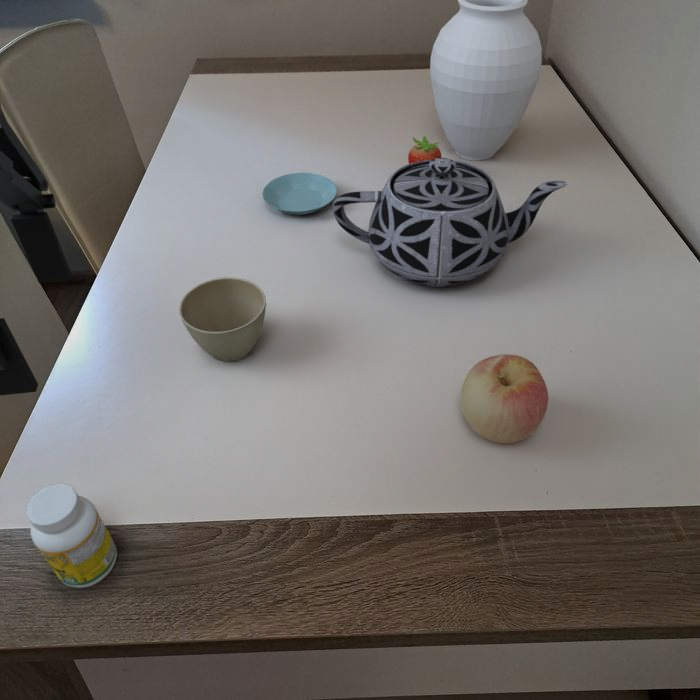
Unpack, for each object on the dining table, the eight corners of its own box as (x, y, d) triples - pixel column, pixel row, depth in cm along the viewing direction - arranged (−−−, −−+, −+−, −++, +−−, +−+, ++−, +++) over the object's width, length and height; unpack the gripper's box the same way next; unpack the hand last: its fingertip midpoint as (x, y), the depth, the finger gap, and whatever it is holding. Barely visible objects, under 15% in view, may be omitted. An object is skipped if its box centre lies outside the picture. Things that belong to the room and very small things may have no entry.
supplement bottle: (128, 563, 59) (97, 504, 53) (73, 602, 57) (34, 546, 50) (101, 525, 62) (68, 465, 56) (47, 561, 60) (6, 503, 53)
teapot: (565, 300, 85) (591, 199, 74) (332, 302, 86) (326, 202, 75) (538, 221, 98) (557, 127, 88) (337, 223, 100) (333, 130, 89)
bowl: (179, 372, 77) (165, 327, 72) (207, 317, 84) (196, 273, 79) (259, 381, 76) (251, 336, 71) (281, 325, 83) (275, 280, 78)
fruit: (439, 175, 110) (442, 130, 104) (439, 190, 106) (443, 144, 100) (407, 174, 110) (409, 129, 104) (406, 190, 106) (408, 144, 101)
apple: (523, 390, 73) (535, 338, 68) (551, 451, 67) (567, 400, 61) (448, 399, 73) (454, 347, 67) (470, 463, 66) (478, 411, 61)
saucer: (351, 198, 105) (351, 185, 103) (305, 231, 98) (304, 218, 97) (296, 178, 110) (295, 165, 109) (249, 208, 103) (247, 195, 102)
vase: (489, 121, 124) (507, -25, 107) (546, 161, 112) (577, 3, 95) (407, 141, 119) (413, -9, 102) (458, 184, 107) (474, 23, 90)
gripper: (-105, 151, 29) (54, 444, 44) (25, -5, 47) (107, 239, 62) (-282, 165, 29) (-60, 457, 43) (-82, 1, 47) (27, 247, 61)
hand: (39, 329), depth 52 cm, fingers open, 13 cm apart
